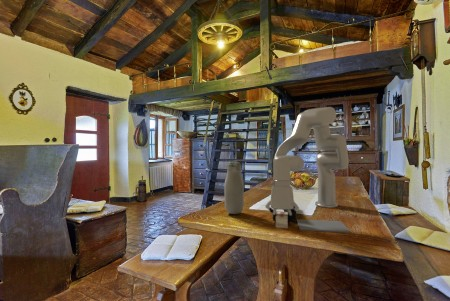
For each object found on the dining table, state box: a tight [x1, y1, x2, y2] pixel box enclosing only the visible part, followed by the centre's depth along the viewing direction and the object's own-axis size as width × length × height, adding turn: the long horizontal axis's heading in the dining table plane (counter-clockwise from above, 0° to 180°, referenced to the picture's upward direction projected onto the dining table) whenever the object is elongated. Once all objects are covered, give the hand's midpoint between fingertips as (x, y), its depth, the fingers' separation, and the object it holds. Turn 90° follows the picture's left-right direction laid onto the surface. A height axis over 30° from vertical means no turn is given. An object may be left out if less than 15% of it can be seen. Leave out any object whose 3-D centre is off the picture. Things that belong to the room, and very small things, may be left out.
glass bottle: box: [223, 160, 245, 215], centre depth 125 cm, size 10×10×28 cm
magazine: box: [283, 206, 297, 222], centre depth 124 cm, size 17×3×30 cm
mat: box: [295, 219, 351, 234], centre depth 105 cm, size 13×20×1 cm, turn 80°
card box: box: [275, 211, 289, 229], centre depth 108 cm, size 9×5×5 cm, turn 164°
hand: (282, 222), depth 108 cm, fingers closed on card box, 5 cm apart
